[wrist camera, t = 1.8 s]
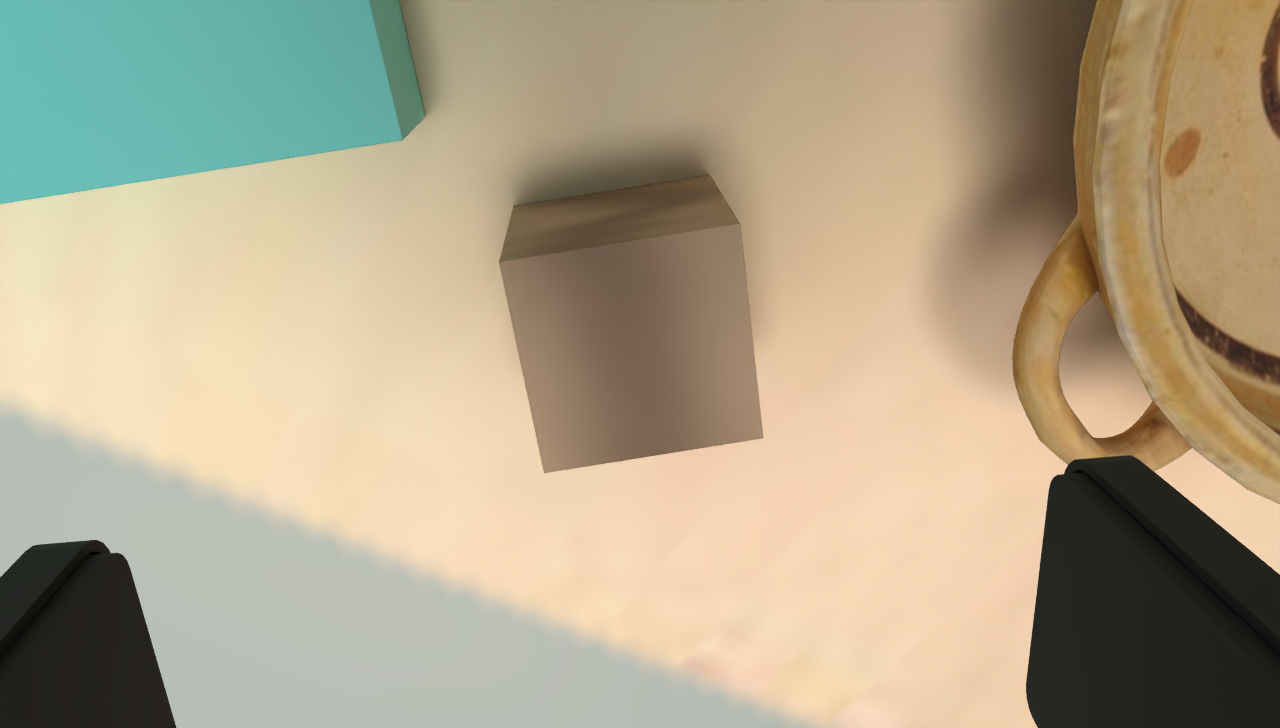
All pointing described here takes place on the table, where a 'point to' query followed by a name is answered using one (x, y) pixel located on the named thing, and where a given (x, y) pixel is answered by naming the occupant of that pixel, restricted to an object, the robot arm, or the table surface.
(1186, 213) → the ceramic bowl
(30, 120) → the teal base
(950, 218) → the table surface
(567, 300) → the walnut cube
